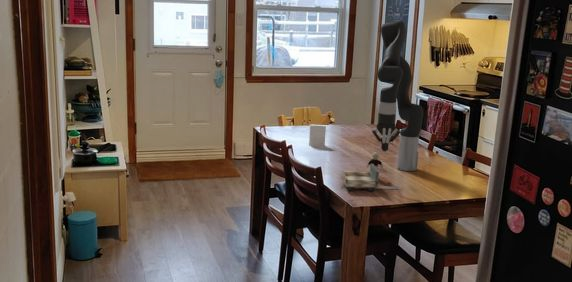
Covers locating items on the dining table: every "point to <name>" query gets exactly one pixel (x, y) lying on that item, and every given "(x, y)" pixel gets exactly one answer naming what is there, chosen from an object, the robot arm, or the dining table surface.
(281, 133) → the dining table surface
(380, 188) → the strip
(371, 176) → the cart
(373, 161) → the grandmother figurine
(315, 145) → the light grey upright block
